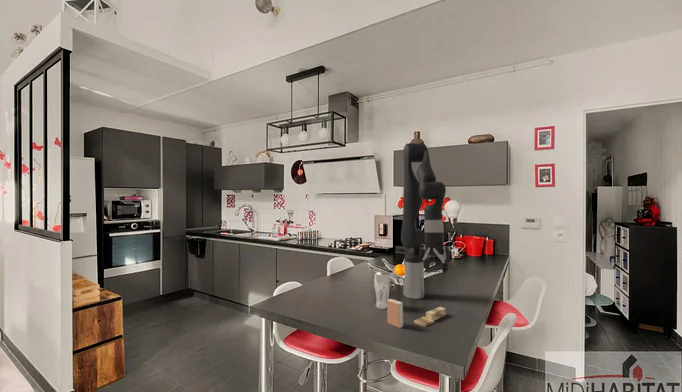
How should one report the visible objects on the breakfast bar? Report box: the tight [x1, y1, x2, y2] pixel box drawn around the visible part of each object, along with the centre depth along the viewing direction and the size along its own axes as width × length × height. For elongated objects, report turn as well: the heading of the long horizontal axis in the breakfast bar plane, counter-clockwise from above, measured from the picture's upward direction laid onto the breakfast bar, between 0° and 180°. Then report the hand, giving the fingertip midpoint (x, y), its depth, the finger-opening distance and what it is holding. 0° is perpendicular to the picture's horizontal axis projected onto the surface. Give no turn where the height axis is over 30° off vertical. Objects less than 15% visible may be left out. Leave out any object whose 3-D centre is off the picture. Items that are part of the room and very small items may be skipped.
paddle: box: [413, 306, 447, 327], centre depth 123 cm, size 16×5×3 cm, turn 129°
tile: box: [386, 298, 404, 329], centre depth 118 cm, size 6×2×9 cm, turn 39°
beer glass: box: [373, 271, 391, 310], centre depth 139 cm, size 7×7×15 cm
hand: (435, 270), depth 125 cm, fingers open, 8 cm apart
